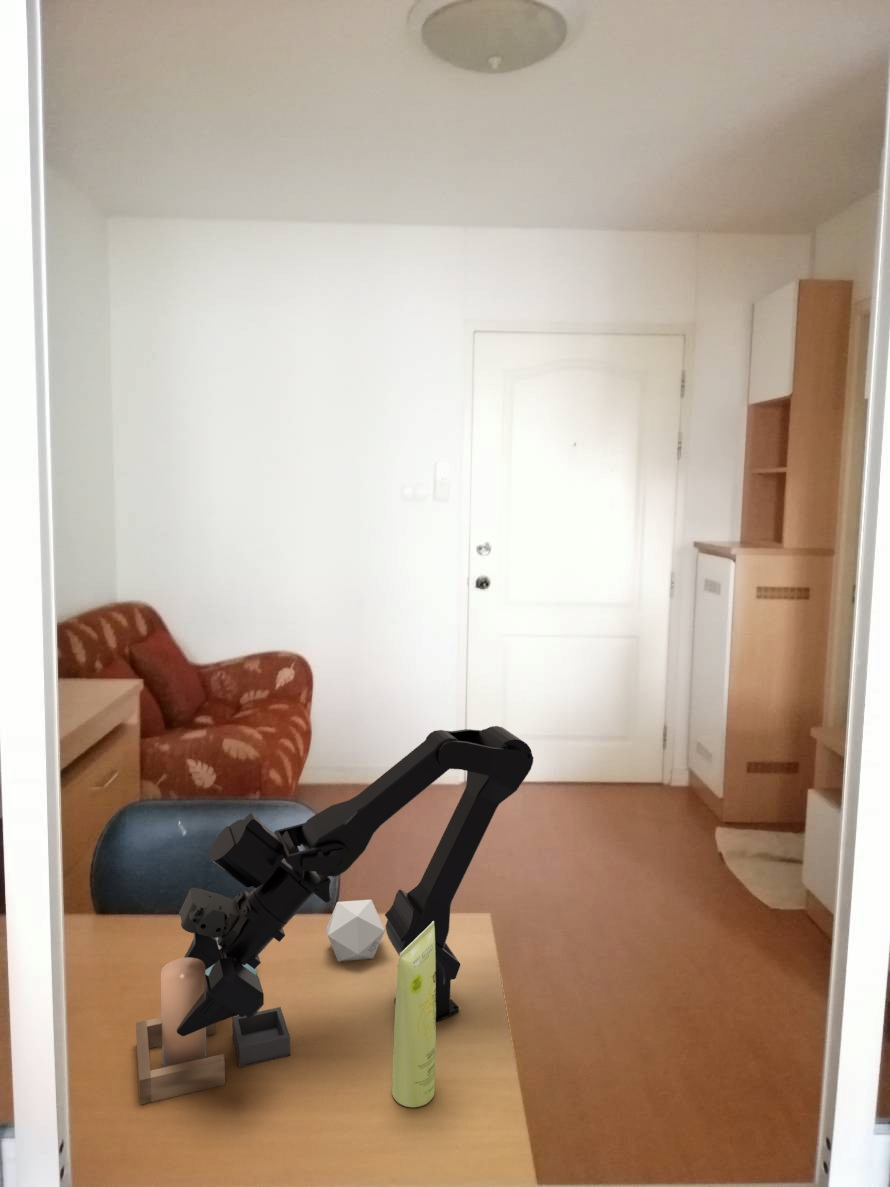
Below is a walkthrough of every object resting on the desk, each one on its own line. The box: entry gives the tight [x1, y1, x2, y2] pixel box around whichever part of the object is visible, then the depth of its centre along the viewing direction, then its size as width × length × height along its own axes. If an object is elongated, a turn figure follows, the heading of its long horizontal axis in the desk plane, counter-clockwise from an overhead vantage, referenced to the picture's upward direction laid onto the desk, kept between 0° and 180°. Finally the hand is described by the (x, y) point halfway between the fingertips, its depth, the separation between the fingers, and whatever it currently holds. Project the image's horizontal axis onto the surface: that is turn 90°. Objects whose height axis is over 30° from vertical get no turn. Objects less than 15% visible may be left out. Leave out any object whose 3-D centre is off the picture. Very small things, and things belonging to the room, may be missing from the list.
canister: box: [160, 957, 207, 1068], centre depth 99 cm, size 5×5×12 cm
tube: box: [391, 921, 437, 1108], centre depth 94 cm, size 6×5×20 cm
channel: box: [135, 1016, 226, 1106], centre depth 99 cm, size 9×10×3 cm
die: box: [325, 899, 386, 962], centre depth 122 cm, size 8×9×10 cm
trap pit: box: [231, 1006, 291, 1068], centre depth 103 cm, size 6×6×2 cm
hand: (176, 1009), depth 98 cm, fingers open, 9 cm apart
